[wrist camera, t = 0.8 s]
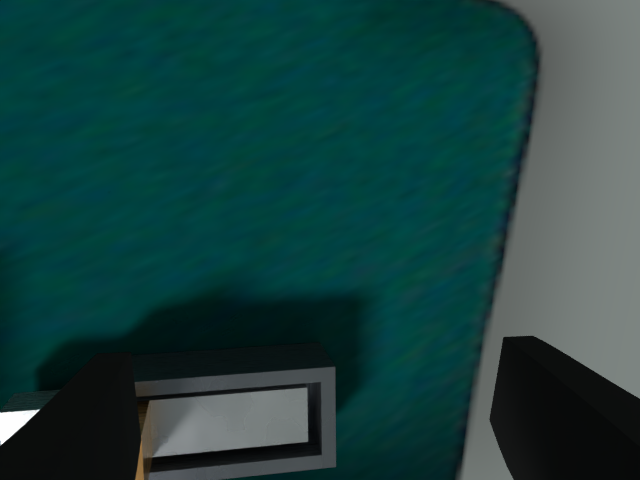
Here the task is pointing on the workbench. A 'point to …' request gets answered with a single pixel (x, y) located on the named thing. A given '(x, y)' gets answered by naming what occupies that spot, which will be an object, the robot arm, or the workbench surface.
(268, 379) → the sleeve
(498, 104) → the workbench surface
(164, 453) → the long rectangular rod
